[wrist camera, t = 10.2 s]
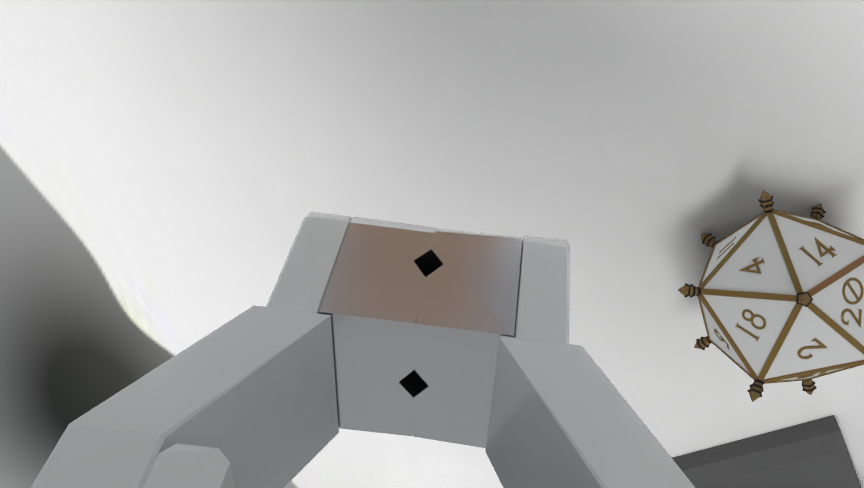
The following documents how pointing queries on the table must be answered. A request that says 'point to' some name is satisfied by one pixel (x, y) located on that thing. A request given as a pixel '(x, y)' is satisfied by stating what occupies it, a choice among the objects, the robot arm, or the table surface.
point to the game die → (784, 297)
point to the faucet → (776, 460)
